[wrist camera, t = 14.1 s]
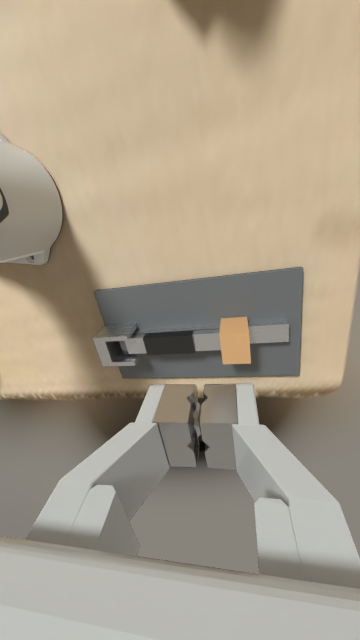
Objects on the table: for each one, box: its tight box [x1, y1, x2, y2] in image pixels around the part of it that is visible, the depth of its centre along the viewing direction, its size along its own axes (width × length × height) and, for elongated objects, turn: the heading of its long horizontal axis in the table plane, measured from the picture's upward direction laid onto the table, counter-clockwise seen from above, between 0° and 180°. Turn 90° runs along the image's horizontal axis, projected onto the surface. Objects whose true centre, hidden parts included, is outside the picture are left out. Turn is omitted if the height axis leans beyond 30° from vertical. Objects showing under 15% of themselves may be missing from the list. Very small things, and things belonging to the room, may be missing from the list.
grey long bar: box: [93, 319, 289, 367], centre depth 39 cm, size 30×6×4 cm, turn 100°
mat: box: [94, 267, 303, 378], centre depth 41 cm, size 32×18×1 cm, turn 100°
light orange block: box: [219, 317, 251, 364], centre depth 37 cm, size 4×5×5 cm
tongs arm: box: [119, 329, 221, 355], centre depth 39 cm, size 21×3×2 cm, turn 100°
